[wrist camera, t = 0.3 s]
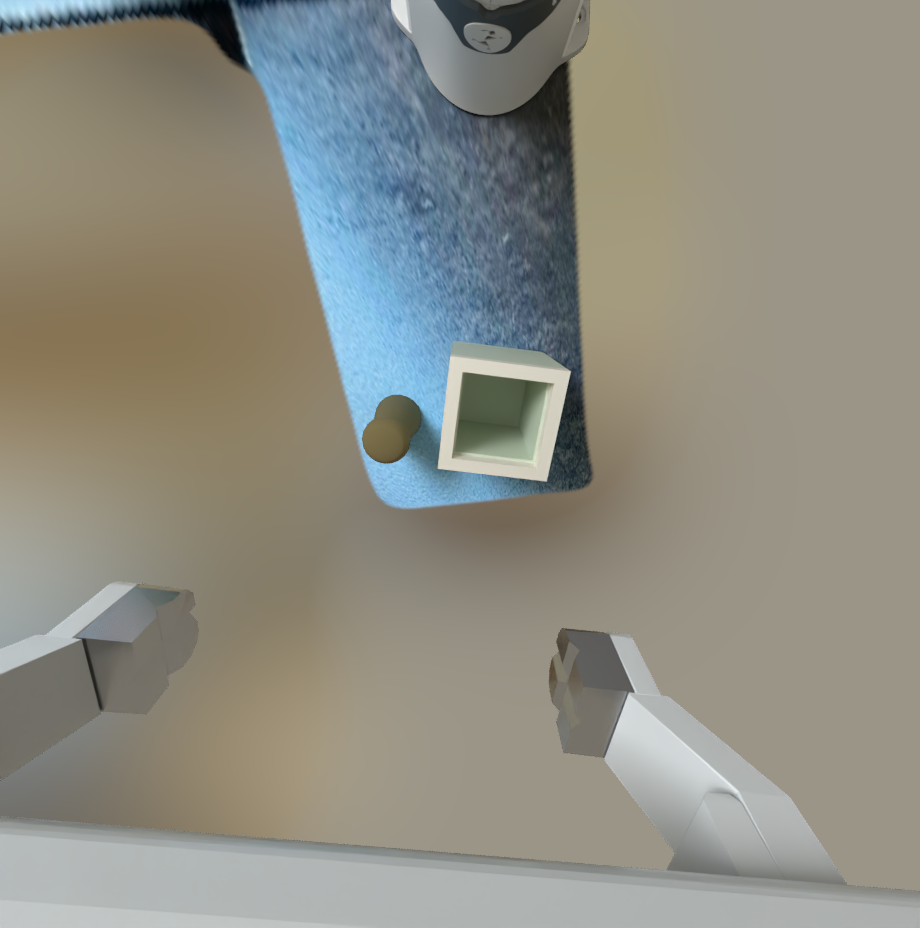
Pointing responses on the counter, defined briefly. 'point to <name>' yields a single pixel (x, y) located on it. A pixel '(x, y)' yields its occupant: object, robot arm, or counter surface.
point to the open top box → (501, 411)
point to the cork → (391, 429)
